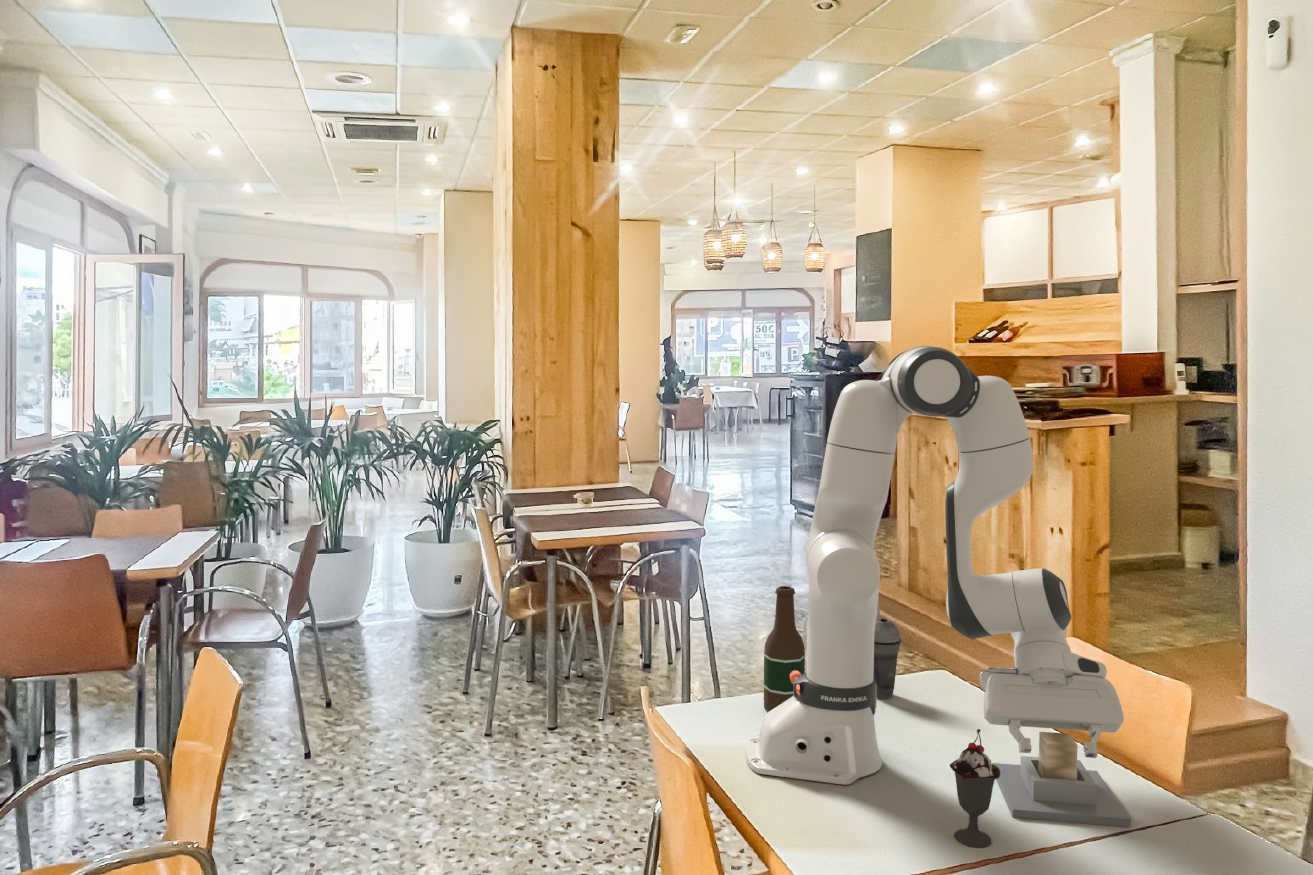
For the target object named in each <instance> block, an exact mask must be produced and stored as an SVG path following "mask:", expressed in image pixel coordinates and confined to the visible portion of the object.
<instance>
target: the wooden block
mask: <svg viewBox="0 0 1313 875" xmlns="http://www.w3.org/2000/svg"><path fill="white" fill-rule="evenodd" d="M1038 735H1039V738H1038V757H1039V763H1038V774H1039V776H1040V778H1052V779H1065V780H1076V776H1077V760H1078V746H1079V745H1078V744H1077V742H1076V741H1075V739H1074V738H1073V737H1072V735H1071V734H1070V733H1063V732H1052V731H1051V732H1049V731H1039V734H1038Z"/></svg>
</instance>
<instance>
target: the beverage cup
mask: <svg viewBox="0 0 1313 875" xmlns="http://www.w3.org/2000/svg"><path fill="white" fill-rule="evenodd" d="M901 643H902V639H901V633H900V631H899V629H898V627H897V625H896V624H895V623H893V621H891V620H888V619H887V618H881V610H880V600H879V598H878V607H877V618H876V623H875V631H874V671H873V677H874V679H875V681H876V687H877V700H889V699H892V698H894V690H895V684H896V676H897V675H896V674H897V664H898V663H897V662H898V654H899V651H900V646H901Z"/></svg>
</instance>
